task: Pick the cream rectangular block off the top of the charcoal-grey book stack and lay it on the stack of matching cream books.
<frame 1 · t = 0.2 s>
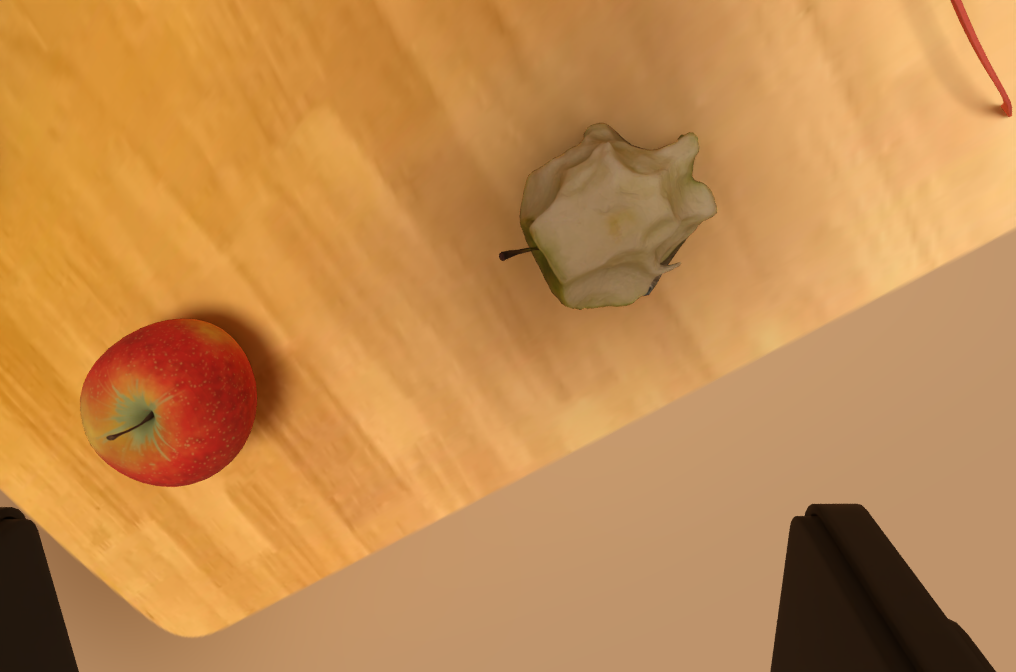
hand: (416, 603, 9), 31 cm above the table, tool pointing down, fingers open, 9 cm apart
fruit: (603, 203, 39), on the table
apple: (212, 365, 43), on the table
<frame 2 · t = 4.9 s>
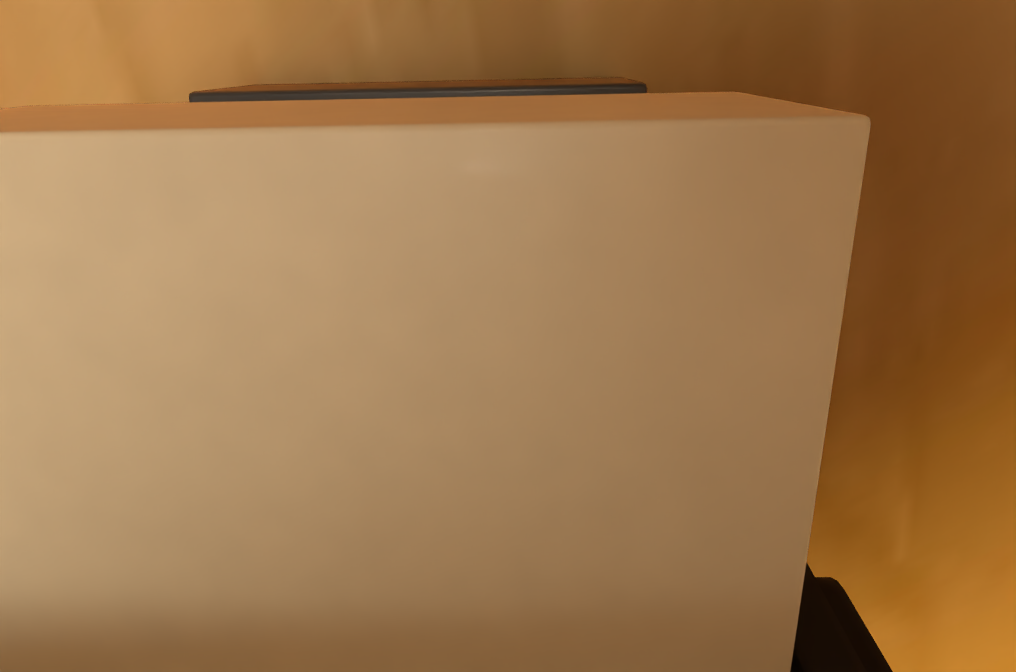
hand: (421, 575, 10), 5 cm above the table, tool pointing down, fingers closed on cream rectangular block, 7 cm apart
cream rectangular block: (417, 595, 9), point 5 cm above the table, touching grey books, gripper
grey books: (453, 415, 14), on the table
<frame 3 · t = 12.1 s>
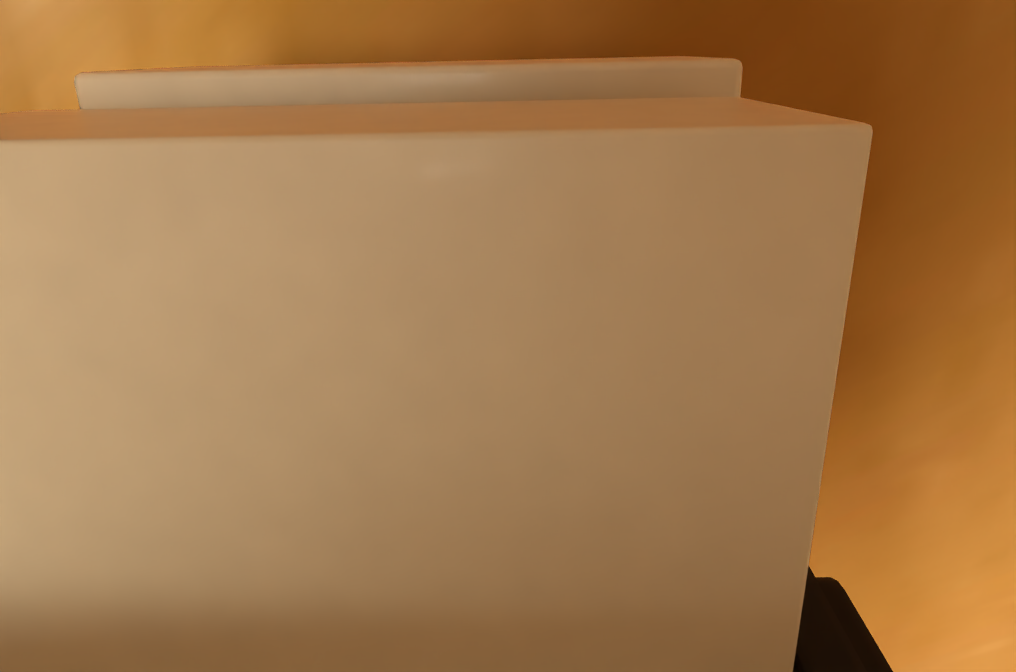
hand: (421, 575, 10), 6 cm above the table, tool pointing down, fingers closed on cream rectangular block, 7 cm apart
cream rectangular block: (417, 600, 9), point 7 cm above the table, touching gripper
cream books: (464, 377, 15), on the table
when the fingers open (7 cm above the table, at t = 19.4 s): cream rectangular block drops 1 cm, resting on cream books.
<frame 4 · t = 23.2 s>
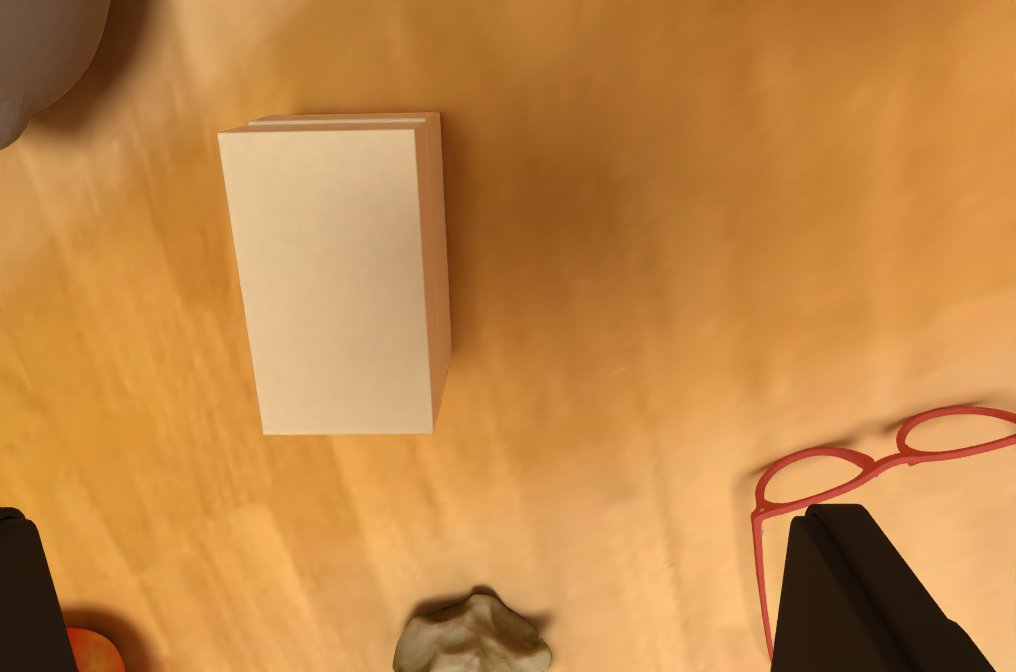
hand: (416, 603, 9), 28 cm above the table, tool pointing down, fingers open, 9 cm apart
cream rectangular block: (350, 272, 31), point 6 cm above the table, touching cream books
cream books: (375, 240, 37), on the table
fruit: (471, 636, 45), on the table
apple: (92, 647, 47), on the table
red eyeglasses: (887, 535, 42), on the table
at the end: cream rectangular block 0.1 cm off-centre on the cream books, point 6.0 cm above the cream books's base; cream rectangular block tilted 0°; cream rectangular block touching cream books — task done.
